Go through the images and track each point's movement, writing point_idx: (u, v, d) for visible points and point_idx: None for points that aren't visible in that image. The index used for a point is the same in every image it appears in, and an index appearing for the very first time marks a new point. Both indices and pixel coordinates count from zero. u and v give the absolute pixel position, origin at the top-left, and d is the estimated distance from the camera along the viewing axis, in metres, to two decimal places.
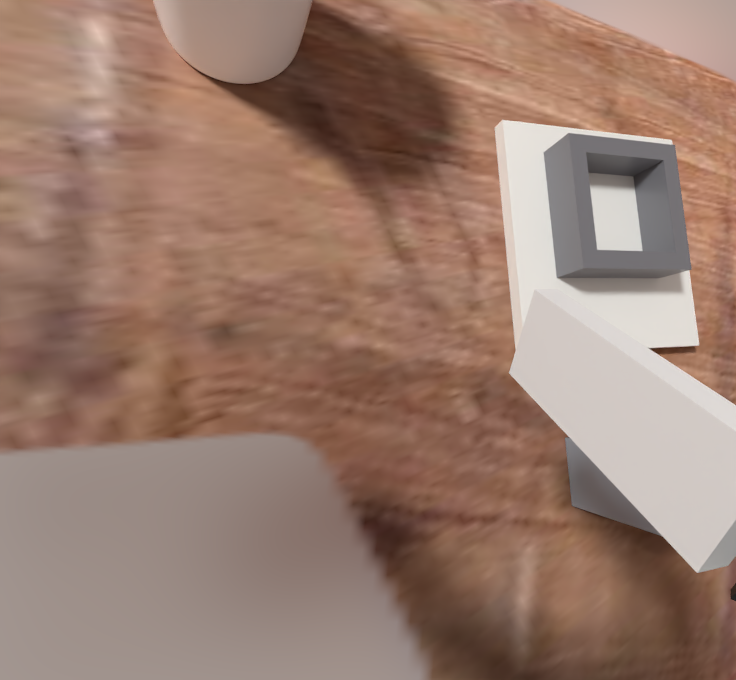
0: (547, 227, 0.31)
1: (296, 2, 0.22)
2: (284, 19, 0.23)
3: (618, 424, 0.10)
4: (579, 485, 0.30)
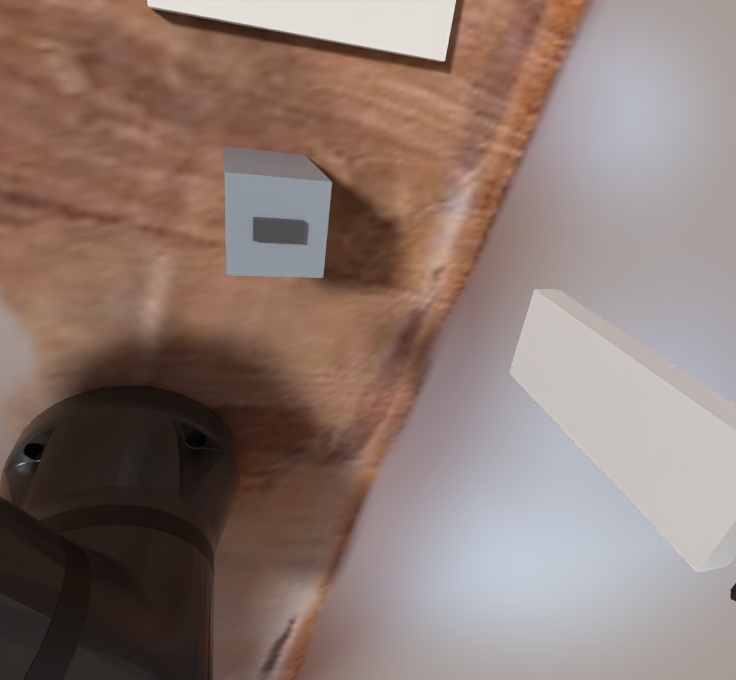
0: None
1: None
2: None
3: (618, 424, 0.10)
4: None
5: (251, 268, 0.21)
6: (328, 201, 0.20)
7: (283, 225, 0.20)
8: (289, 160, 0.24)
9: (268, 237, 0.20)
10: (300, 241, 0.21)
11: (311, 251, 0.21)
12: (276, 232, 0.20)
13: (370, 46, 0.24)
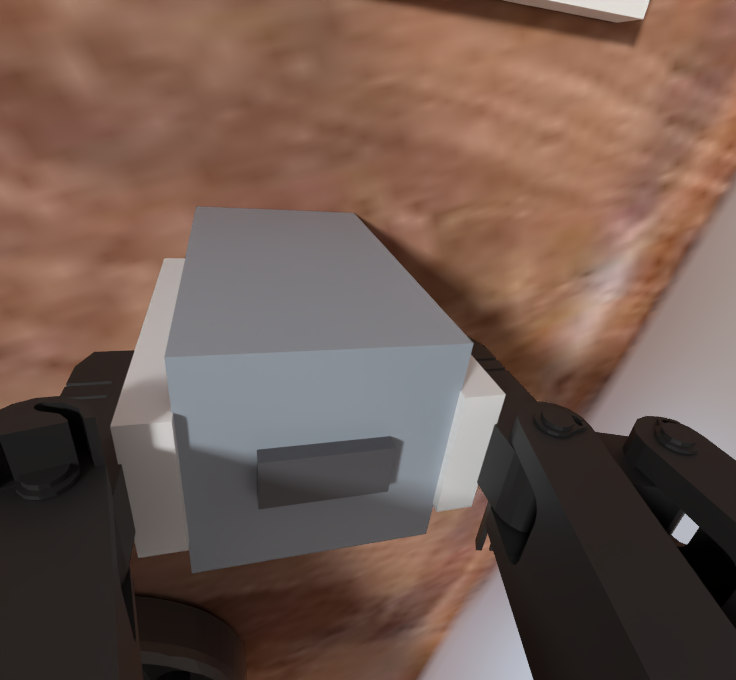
0: None
1: None
2: None
3: None
4: None
5: (256, 549, 0.08)
6: (457, 387, 0.08)
7: (340, 465, 0.07)
8: (332, 241, 0.11)
9: (299, 495, 0.07)
10: (382, 488, 0.08)
11: (405, 493, 0.09)
12: (321, 481, 0.07)
13: None
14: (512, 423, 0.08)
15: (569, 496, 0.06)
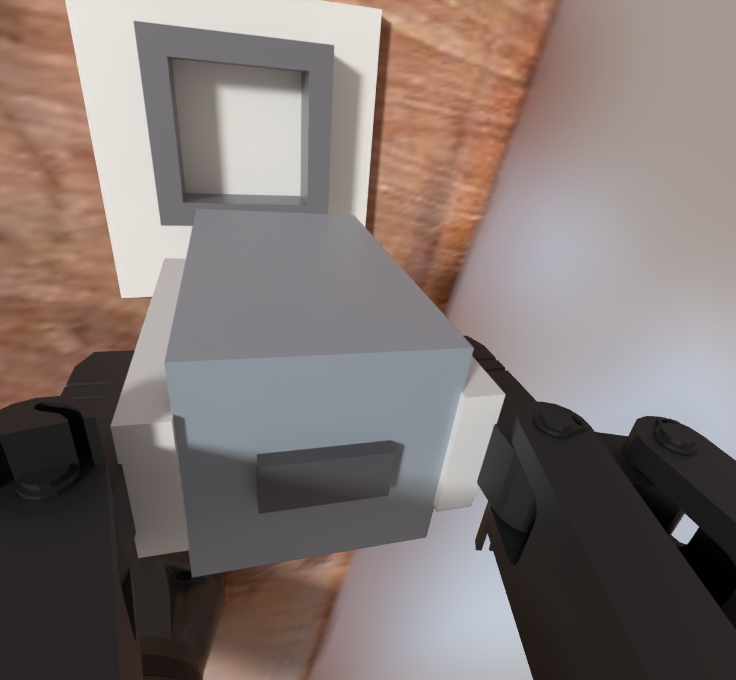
0: (150, 147, 0.24)
1: None
2: None
3: None
4: None
5: (256, 553, 0.08)
6: (458, 391, 0.08)
7: (340, 469, 0.07)
8: (332, 244, 0.11)
9: (299, 498, 0.07)
10: (382, 492, 0.08)
11: (405, 497, 0.09)
12: (321, 486, 0.07)
13: None
14: (512, 423, 0.08)
15: (569, 496, 0.06)
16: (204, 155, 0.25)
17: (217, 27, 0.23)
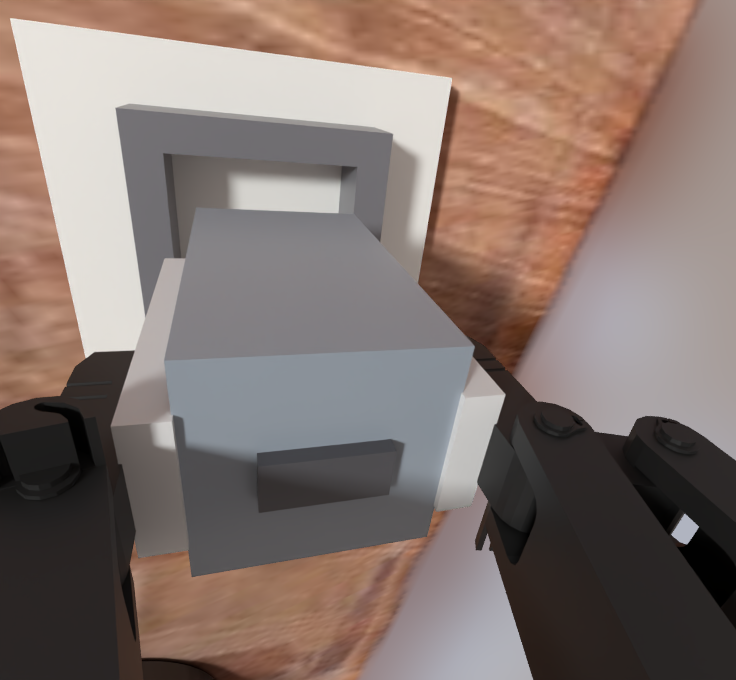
0: None
1: None
2: None
3: None
4: None
5: (256, 552, 0.08)
6: (459, 390, 0.08)
7: (341, 468, 0.07)
8: (332, 242, 0.11)
9: (299, 498, 0.07)
10: (383, 491, 0.08)
11: (406, 496, 0.09)
12: (322, 485, 0.07)
13: None
14: (512, 423, 0.08)
15: (569, 496, 0.06)
16: None
17: (234, 102, 0.17)
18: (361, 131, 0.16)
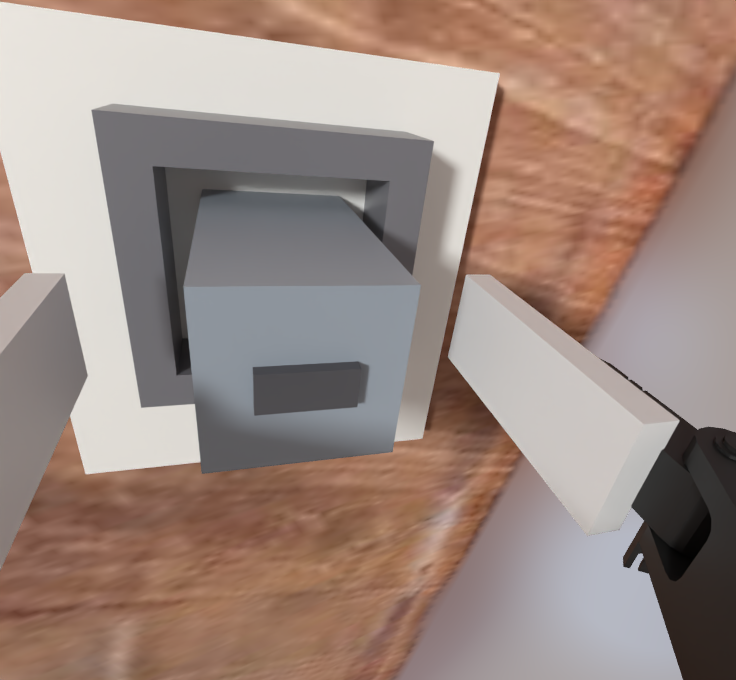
0: None
1: None
2: None
3: (529, 399, 0.10)
4: None
5: (252, 455, 0.10)
6: (410, 322, 0.10)
7: (318, 380, 0.09)
8: (317, 216, 0.13)
9: (285, 405, 0.09)
10: (352, 404, 0.10)
11: (373, 413, 0.11)
12: (303, 394, 0.09)
13: None
14: (678, 448, 0.08)
15: None
16: None
17: (240, 102, 0.14)
18: (396, 138, 0.13)
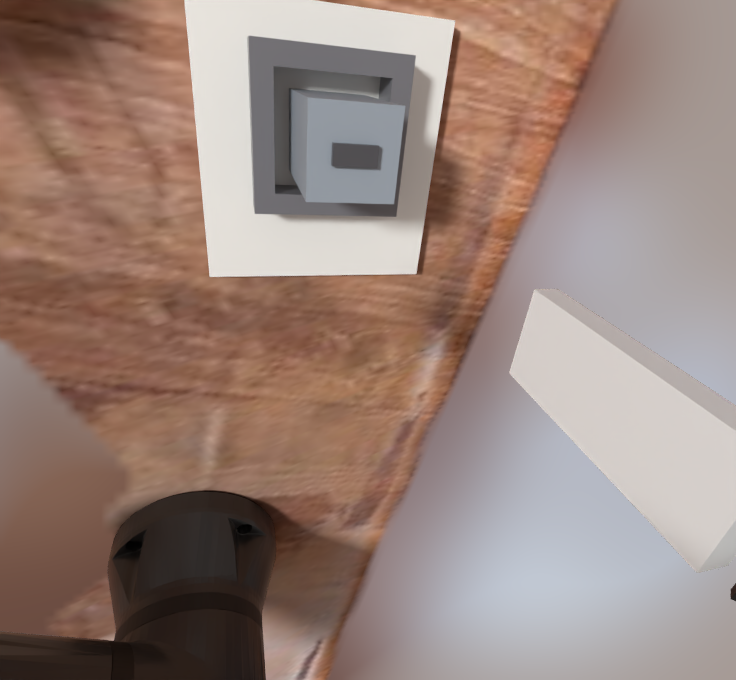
0: (245, 144, 0.27)
1: None
2: None
3: (618, 424, 0.10)
4: (290, 146, 0.27)
5: (328, 195, 0.22)
6: (401, 125, 0.21)
7: (360, 150, 0.21)
8: (354, 96, 0.25)
9: (345, 162, 0.21)
10: (375, 166, 0.22)
11: (384, 177, 0.22)
12: (353, 157, 0.21)
13: (361, 274, 0.34)
14: None
15: None
16: None
17: (311, 37, 0.25)
18: (395, 53, 0.25)
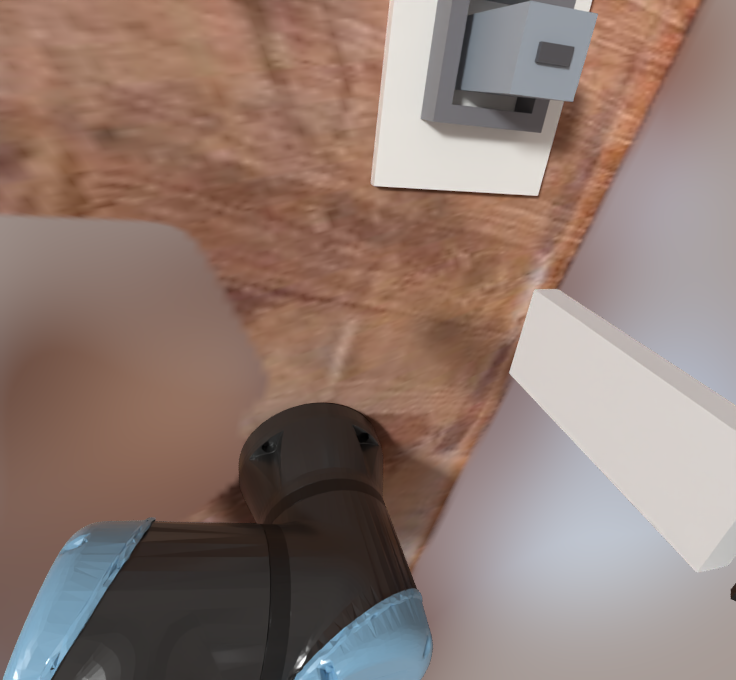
0: (424, 63, 0.32)
1: None
2: None
3: (618, 424, 0.10)
4: (462, 65, 0.32)
5: (527, 88, 0.27)
6: (591, 31, 0.27)
7: (560, 49, 0.26)
8: None
9: (547, 59, 0.26)
10: (568, 64, 0.27)
11: (570, 76, 0.27)
12: (554, 55, 0.26)
13: (494, 192, 0.39)
14: None
15: None
16: None
17: None
18: None
